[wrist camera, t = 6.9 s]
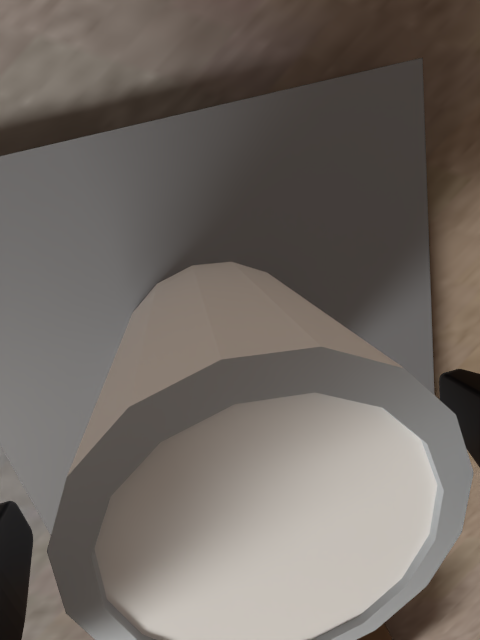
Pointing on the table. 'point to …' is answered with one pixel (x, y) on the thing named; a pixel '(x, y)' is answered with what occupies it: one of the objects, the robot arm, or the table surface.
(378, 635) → the walnut block
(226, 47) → the table surface
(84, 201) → the serving board
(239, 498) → the white cup
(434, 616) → the table surface
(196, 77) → the table surface
